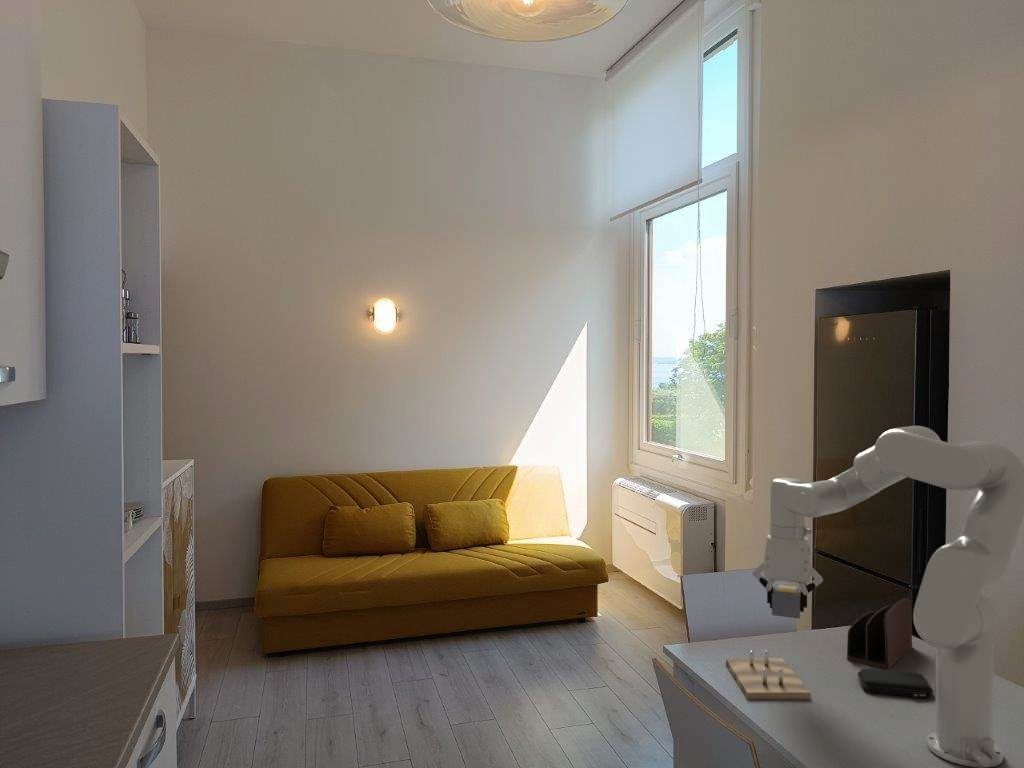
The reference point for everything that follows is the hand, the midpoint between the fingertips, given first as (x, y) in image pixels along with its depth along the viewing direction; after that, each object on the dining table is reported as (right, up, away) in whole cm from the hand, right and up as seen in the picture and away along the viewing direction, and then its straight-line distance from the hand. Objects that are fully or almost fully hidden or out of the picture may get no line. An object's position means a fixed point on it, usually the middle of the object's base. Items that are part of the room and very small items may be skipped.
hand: (786, 607), depth 176 cm
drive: (0, -1, 0) cm, 1 cm away
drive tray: (-4, -18, +3) cm, 19 cm away
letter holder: (+31, -18, +19) cm, 40 cm away
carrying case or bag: (+24, -18, -3) cm, 30 cm away
